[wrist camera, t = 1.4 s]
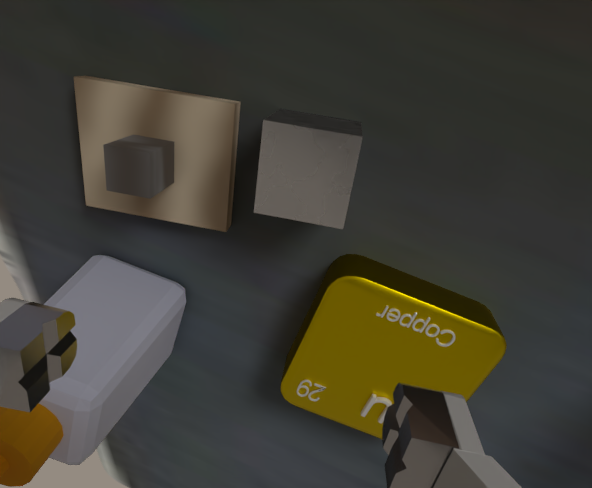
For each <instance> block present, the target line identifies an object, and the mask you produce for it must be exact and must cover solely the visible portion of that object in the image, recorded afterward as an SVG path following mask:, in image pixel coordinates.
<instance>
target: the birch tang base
mask: <svg viewBox="0 0 592 488" xmlns="http://www.w3.org/2000/svg"><path fill="white" fill-rule="evenodd" d="M74 86H75V96H76V106H77V117H78V127H79V137H80V148H81V158H82V169H83V179H84V189H85V200H86V206H91V207H97V208H102V209H107V210H112V211H118V212H123V213H128V214H134V215H139V216H144V217H149V218H155V219H160V220H165V221H171V222H176V223H181V224H186V225H192V226H197V227H202V228H208V229H213V230H218V231H223V232H226V231H227V230H228V229H229V227H230V226H231V220H232V207H233V194H234V181H235V168H236V154H237V141H238V128H239V115H240V102H238V101H233V100H227V99H221V98H215V97H209V96H203V95H197V94H191V93H185V92H179V91H173V90H167V89H161V88H155V87H149V86H144V85H138V84H132V83H126V82H120V81H114V80H108V79H102V78H96V77H90V76H76V77H74Z"/></svg>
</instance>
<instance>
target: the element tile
mask: <svg viewBox="0 0 592 488" xmlns="http://www.w3.org/2000/svg"><path fill="white" fill-rule="evenodd" d="M506 346H507V345H506V341H505V338H504V336H503V334H502V332H501V330H500V328H499V326H498V324H497V323H496V321H495V319H494V317H493V315H492V313H491V311H490V310H489V309H488V308H487V307H486V306H485V305H483V304H481V303H479V302H477V301H475V300H472V299H470V298H467V297H465V296H462V295H460V294H457V293H455V292H452V291H450V290H447V289H445V288H442V287H440V286H437V285H435V284H432V283H430V282H427V281H425V280H422V279H420V278H417V277H415V276H412V275H410V274H407V273H404V272H402V271H399V270H397V269H394V268H392V267H389V266H387V265H384V264H382V263H379V262H377V261H374V260H372V259H369V258H367V257H364V256H361V255H357V254H346V255H343V256H340V257H339V258H337V259H336V260H335V261H334V262H333V263H332V264H331V266H330V267H329V269H328V271H327V273H326V275H325V277H324V279H323V281H322V284H321V286H320V288H319V290H318V292H317V294H316V296H315V298H314V300H313V303H312V305H311V307H310V309H309V311H308V313H307V315H306V317H305V319H304V322H303V324H302V326H301V328H300V330H299V332H298V334H297V336H296V338H295V341H294V343H293V345H292V347H291V349H290V351H289V353H288V355H287V359H286V363H285V367H284V372H283V376H282V380H281V394H282V395H283V397H284V399H286V400H287V401H288V402H289V403H291V404H293V405H294V406H297V407H299V408H302V409H304V410H307V411H310V412H312V413H315V414H317V415H320V416H323V417H325V418H328V419H330V420H333V421H336V422H338V423H341V424H343V425H346V426H349V427H351V428H354V429H357V430H359V431H362V432H364V433H367V434H370V435H372V436H375V437H377V438H380V439H382V428H383V422H384V417H385V414H386V411H387V408H388V407H389V406H391V405H392V404H394V399H393V392H394V390H395V387H396V386H397V384H398V383H399V382H400V383H405V384H409V385H414V386H419V387H424V388H429V389H433V390H438V391H445V392H450V393H455V394H460V395H462V396H463V397H464V398H465V401H466V402H467V401H468V400H469V398H470V397H471V396H472V395H473V393H474V392H475V391H476V390H477V389H478V387H479V386H480V385H481V384H482V382H483V381H484V380H485V379H486V378H487V376H488V375H489V374H490V373H491V371H492V370H493V369H494V368H495V367H496V365H497V364H498V363H499V362H500V360H501V359H502V358H503V356H504V354H505V351H506Z"/></svg>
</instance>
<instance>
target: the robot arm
mask: <svg viewBox="0 0 592 488" xmlns="http://www.w3.org/2000/svg"><path fill="white" fill-rule="evenodd" d="M75 325H76V324H75V317H74V314H73V313H72V312H70V311H67V310H63V309H59V308H55V307H51V306H47V305H43V304H38V303H34V302H28V301H24V300H20V299H16V298H9V299H5V300H3V301H2V302H1V303H0V407H5V408H10V409H15V410H20V411H25V412H31V411H32V410H33V409H34V408H35V407H36V405H37V404H38V403H39V402H40V401H41V400H42V399H43V398H44V397H45V396H46V394H47V393H48V392H49V391H50V382H51V381H54V380H56V379H58V378H60V377H63V375H64V374H65V373H66V372H67V371H68V370H69V368H70V367H71V365H72V363H73V361H74V359H75V357H76V352H77V339H76V337H75V336H74V335H73V334H72V332H71V331H70V330H71V329H72V328H73V327H74V326H75ZM393 399H394V404H392V405H391V406H389V407H388V408H387V411H386V414H385V417H384V422H383V428H382V441H383V448H384V450H385V451H386V452H387V454H388V455H389V456H388V458H387V461H386V463H385V473H386V482H387V488H522V487H521V486H520V485H519V484H518V483H517V482H516V481H515V480H514V479H513V478H512V477H511V476H510V475H509V474H508V473H507V472H506V471H505V470H504V469H503V468H502V467H501V466H500V465H499V464H498V463H497V462H496V461H495V459H494V458H493V457H491V456H487V455H485V453H484V450H483V448H482V445H481V442H480V439H479V437H478V434H477V431H476V428H475V426H474V423H473V420H472V417H471V415H470V412H469V409H468V406H467V404H466V401H465V398H464V397H463V396H462V395H460V394H455V393H450V392H445V391H438V390H433V389H429V388H424V387H419V386H414V385H409V384H405V383H400V382H399V383H398V384H397V386H396V387H395V390H394V392H393Z"/></svg>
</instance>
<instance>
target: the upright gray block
mask: <svg viewBox="0 0 592 488" xmlns="http://www.w3.org/2000/svg"><path fill="white" fill-rule="evenodd" d="M362 138H363V135H362V124H361V122H357V121H351V120H345V119H339V118H333V117H327V116H322V115H316V114H310V113H304V112H298V111H292V110H286V109H279V110H277V111H276V112H274V113H273V114H271V115H270V116H268V117H267V118H265V119H264V120H263V127H262V137H261V147H260V156H259V166H258V176H257V186H256V195H255V205H254V213H259V214H264V215H269V216H275V217H280V218H286V219H291V220H296V221H302V222H307V223H313V224H318V225H323V226H329V227H334V228H340V229H343V227H344V222H345V217H346V213H347V208H348V203H349V199H350V194H351V189H352V185H353V180H354V175H355V171H356V166H357V161H358V156H359V152H360V147H361V142H362Z"/></svg>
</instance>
